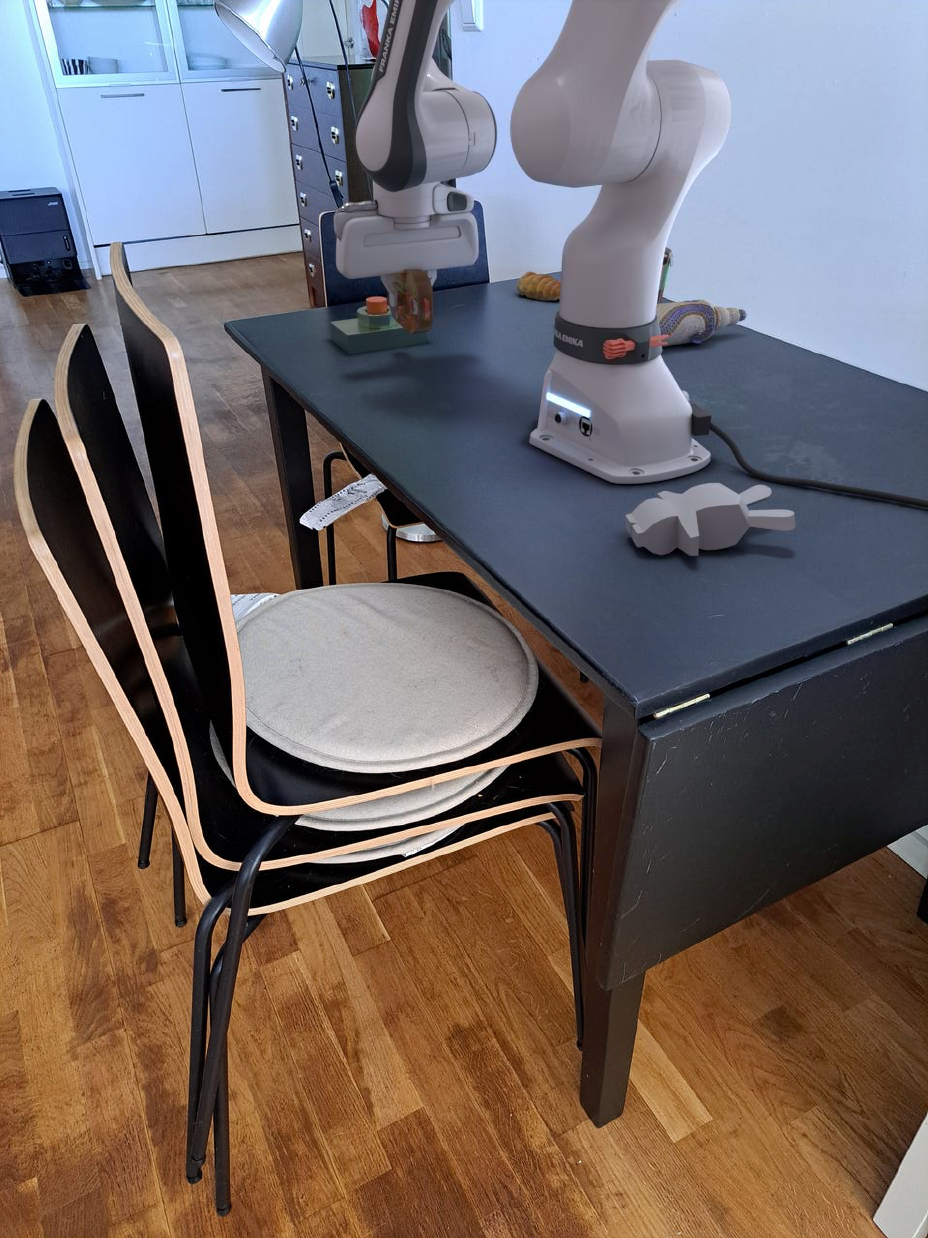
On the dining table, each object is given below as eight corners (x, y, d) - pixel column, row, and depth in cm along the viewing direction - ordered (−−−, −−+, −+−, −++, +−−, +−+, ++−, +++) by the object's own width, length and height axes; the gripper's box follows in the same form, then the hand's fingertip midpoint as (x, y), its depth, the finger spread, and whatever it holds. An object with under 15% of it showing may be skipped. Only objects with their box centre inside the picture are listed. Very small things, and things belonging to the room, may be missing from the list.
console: (426, 343, 141) (425, 310, 138) (348, 354, 136) (346, 321, 133) (406, 330, 146) (405, 298, 144) (331, 340, 142) (329, 308, 139)
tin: (387, 313, 133) (381, 254, 128) (407, 309, 134) (402, 251, 129) (417, 342, 122) (412, 279, 117) (439, 338, 122) (435, 275, 117)
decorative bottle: (618, 361, 132) (622, 316, 129) (593, 347, 138) (596, 303, 135) (758, 340, 141) (766, 297, 137) (729, 328, 147) (735, 286, 143)
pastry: (574, 297, 163) (575, 276, 161) (550, 305, 159) (551, 283, 157) (536, 288, 169) (537, 267, 166) (512, 295, 165) (512, 274, 163)
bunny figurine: (616, 487, 88) (762, 461, 88) (617, 532, 90) (759, 506, 91) (646, 532, 80) (806, 503, 81) (646, 580, 83) (801, 551, 84)
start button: (390, 313, 138) (389, 300, 137) (371, 316, 137) (370, 302, 136) (382, 308, 140) (382, 295, 139) (363, 311, 139) (363, 297, 138)
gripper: (340, 207, 112) (348, 318, 120) (484, 195, 119) (482, 301, 127) (324, 199, 116) (333, 307, 124) (463, 188, 124) (463, 290, 132)
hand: (409, 303), depth 126 cm, fingers closed on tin, 2 cm apart
